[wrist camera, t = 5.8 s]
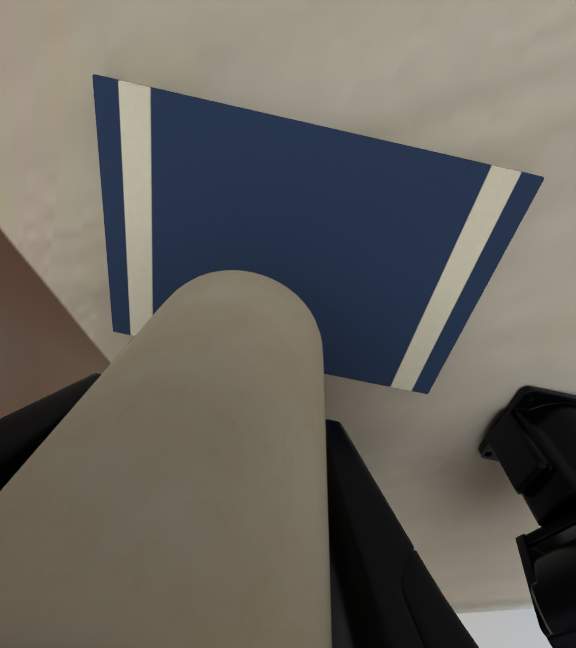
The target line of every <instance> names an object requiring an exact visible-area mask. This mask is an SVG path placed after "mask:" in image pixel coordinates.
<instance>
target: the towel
mask: <svg viewBox="0 0 576 648" xmlns="http://www.w3.org/2000/svg"><path fill="white" fill-rule="evenodd" d="M93 88H94V100H95V113H96V125H97V137H98V150H99V162H100V175H101V187H102V200H103V212H104V225H105V237H106V250H107V262H108V275H109V287H110V299H111V312H112V324H113V331H114V332H119V333H124V334H129V335H132V336H135V335H136V334H137V333H138V332H139V331H140V330H141V328H142V327H143V326H144V325H145V324H146V323H147V322H148V320H149V319H150V318H151V317H152V316H153V315H154V313H155V312H156V311H157V310H158V309H159V308H160V307H161V306H162V305H163V304H164V302H165V301H166V300H167V299H168V298H169V297H170V296H171V295H172V294H173V293H174V292H175V291H176V290H177V289H179V288H180V287H182V286H183V285H184V284H186V283H188V282H189V281H191V280H193V279H195V278H197V277H199V276H202V275H205V274H208V273H211V272H217V271H225V270H239V271H247V272H253V273H257V274H260V275H263V276H266V277H269V278H271V279H273V280H275V281H277V282H279V283H281V284H282V285H284V286H286V287H287V288H289V289H290V290H291V291H292V292H294V293H295V294H296V295H297V296H298V297H299V298H300V299H301V300H302V301H303V302H304V303H305V305H306V306H307V307H308V309H309V310H310V311H311V313H312V315H313V317H314V319H315V321H316V324H317V326H318V329H319V332H320V335H321V340H322V348H323V364H324V374H329V375H334V376H339V377H344V378H349V379H354V380H359V381H364V382H369V383H374V384H379V385H384V386H390V387H392V388H397V389H402V390H407V391H415V392H420V393H425V394H428V393H429V391H430V389H431V387H432V385H433V383H434V382H435V380H436V378H437V376H438V374H439V372H440V371H441V369H442V367H443V365H444V363H445V361H446V359H447V358H448V356H449V354H450V352H451V350H452V348H453V346H454V345H455V343H456V341H457V339H458V337H459V335H460V334H461V332H462V330H463V328H464V326H465V324H466V322H467V321H468V319H469V317H470V315H471V313H472V311H473V309H474V308H475V306H476V304H477V302H478V300H479V298H480V297H481V295H482V293H483V291H484V289H485V287H486V285H487V284H488V282H489V280H490V278H491V276H492V274H493V272H494V271H495V269H496V267H497V265H498V263H499V261H500V260H501V258H502V256H503V254H504V252H505V250H506V248H507V247H508V245H509V243H510V241H511V239H512V237H513V235H514V234H515V232H516V230H517V228H518V226H519V224H520V222H521V221H522V219H523V217H524V215H525V213H526V211H527V210H528V208H529V206H530V204H531V202H532V200H533V198H534V197H535V195H536V193H537V191H538V189H539V187H540V185H541V184H542V182H543V180H544V177H542V176H537V175H533V174H529V173H524V172H520V171H516V170H511V169H507V168H502V167H498V166H494V165H489V164H485V163H480V162H476V161H472V160H467V159H463V158H459V157H454V156H450V155H445V154H441V153H437V152H432V151H428V150H424V149H419V148H415V147H410V146H406V145H402V144H397V143H393V142H389V141H384V140H380V139H375V138H371V137H367V136H362V135H358V134H353V133H349V132H345V131H340V130H336V129H332V128H327V127H323V126H318V125H314V124H310V123H305V122H301V121H297V120H292V119H288V118H283V117H279V116H275V115H270V114H266V113H262V112H257V111H253V110H248V109H244V108H240V107H235V106H231V105H226V104H222V103H218V102H213V101H209V100H205V99H200V98H196V97H191V96H187V95H183V94H178V93H174V92H170V91H165V90H161V89H156V88H152V87H148V86H143V85H139V84H135V83H130V82H126V81H121V80H117V79H113V78H108V77H104V76H99V75H95V74H94V75H93Z"/></svg>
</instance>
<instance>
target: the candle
mask: <svg viewBox="0 0 576 648" xmlns="http://www.w3.org/2000/svg"><path fill="white" fill-rule="evenodd" d="M0 648H332V626H331V593H330V560H329V527H328V494H327V461H326V428H325V395H324V364H323V348H322V340H321V335H320V332H319V329H318V326H317V324H316V321H315V319H314V317H313V315H312V313H311V311H310V310H309V309H308V307H307V306H306V305H305V303H304V302H303V301H302V300H301V299H300V298H299V297H298V296H297V295H296V294H295V293H294V292H292V291H291V290H290V289H289V288H287V287H286V286H284V285H282V284H281V283H279V282H277V281H275V280H273V279H271V278H269V277H266V276H263V275H260V274H257V273H253V272H247V271H239V270H225V271H217V272H211V273H208V274H205V275H202V276H199V277H197V278H195V279H193V280H191V281H189V282H188V283H186V284H184V285H183V286H182V287H180V288H179V289H177V290H176V291H175V292H174V293H173V294H172V295H171V296H170V297H169V298H168V299H167V300H166V301H165V302H164V304H163V305H162V306H161V307H160V308H159V309H158V310H157V311H156V312H155V313H154V315H153V316H152V317H151V318H150V319H149V320H148V322H147V323H146V324H145V325H144V326H143V327H142V328H141V330H140V331H139V332H138V333H137V334H136V335H135V337H134V338H133V339H132V340H131V341H130V342H129V343H128V345H127V346H126V347H125V348H124V349H123V350H122V352H121V353H120V354H119V355H118V356H117V357H116V358H115V360H114V361H113V362H112V363H111V364H110V365H109V366H108V368H107V369H106V370H105V371H104V372H103V373H102V375H101V376H100V377H99V378H98V379H97V380H96V381H95V383H94V384H93V385H92V386H91V387H90V388H89V390H88V391H87V392H86V393H85V394H84V395H83V396H82V398H81V399H80V400H79V401H78V402H77V403H76V405H75V406H74V407H73V408H72V409H71V410H70V411H69V413H68V414H67V415H66V416H65V417H64V418H63V419H62V421H61V422H60V423H59V424H58V425H57V426H56V428H55V429H54V430H53V431H52V432H51V433H50V434H49V436H48V437H47V438H46V439H45V440H44V441H43V443H42V444H41V445H40V446H39V447H38V448H37V449H36V451H35V452H34V453H33V454H32V455H31V456H30V458H29V459H28V460H27V461H26V462H25V463H24V464H23V466H22V467H21V468H20V469H19V470H18V471H17V472H16V474H15V475H14V476H13V477H12V478H11V479H10V481H9V482H8V483H7V484H6V485H5V486H4V487H3V489H2V490H1V491H0Z"/></svg>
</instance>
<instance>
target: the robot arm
mask: <svg viewBox="0 0 576 648" xmlns="http://www.w3.org/2000/svg"><path fill="white" fill-rule="evenodd" d="M101 375H102V374H97V373H95V374H92V375H90V376H88V377H86V378H84V379H82V380H80V381H77V382H75V383H73V384H71V385H69V386H67V387H65V388H63V389H61V390H59V391H57V392H55V393H53V394H51V395H48V396H46V397H45V398H42V399H40V400H38V401H36V402H34V403H32V404H30V405H28V406H26V407H24V408H22V409H20V410H18V411H15V412H13V413H11V414H9V415H7V416H5V417H3V418H1V419H0V491H1V490H2V489H3V487H4V486H5V485H6V484H7V483H8V482H9V481H10V479H11V478H12V477H13V476H14V475H15V474H16V472H17V471H18V470H19V469H20V468H21V467H22V466H23V464H24V463H25V462H26V461H27V460H28V459H29V458H30V456H31V455H32V454H33V453H34V452H35V451H36V449H37V448H38V447H39V446H40V445H41V444H42V443H43V441H44V440H45V439H46V438H47V437H48V436H49V434H50V433H51V432H52V431H53V430H54V429H55V428H56V426H57V425H58V424H59V423H60V422H61V421H62V419H63V418H64V417H65V416H66V415H67V414H68V413H69V411H70V410H71V409H72V408H73V407H74V406H75V405H76V403H77V402H78V401H79V400H80V399H81V398H82V396H83V395H84V394H85V393H86V392H87V391H88V390H89V388H90V387H91V386H92V385H93V384H94V383H95V381H96V380H97V379H98V378H99V377H100V376H101ZM325 428H326V461H327V494H328V527H329V560H330V593H331V626H332V648H479V647H478V646H477V644H476V643H475V642H474V640H473V638H472V637H471V635H470V634H469V633H468V631H467V630H466V628H465V627H464V625H463V624H462V622H461V621H460V619H459V618H458V616H457V615H456V613H455V612H454V610H453V609H452V607H451V606H450V605H449V603H448V602H447V600H446V599H445V597H444V596H443V594H442V592H441V591H440V589H439V588H438V586H437V584H436V583H435V581H434V579H433V578H432V576H431V575H430V573H429V571H428V570H427V568H426V566H425V565H424V563H423V561H422V560H421V558H420V556H419V555H418V553H417V551H416V550H413V549H414V546H413V545H412V543H411V541H410V540H409V538H408V536H407V535H406V533H405V531H404V529H403V528H402V526H401V524H400V523H399V521H398V519H397V518H396V516H395V514H394V513H393V511H392V509H391V507H390V506H389V504H388V502H387V501H386V499H385V497H384V496H383V494H382V492H381V490H380V489H379V487H378V485H377V484H376V482H375V480H374V479H373V477H372V475H371V474H370V472H369V470H368V468H367V467H366V465H365V463H364V462H363V460H362V458H361V457H360V455H359V453H358V452H357V450H356V448H355V446H354V445H353V443H352V441H351V440H350V438H349V436H348V435H347V433H346V431H345V430H344V428H343V426H342V424H341V423H340V422H337V421H333V420H325ZM479 453H480V455H481V457H482V458H485V459H490V460H495V461H499V462H500V463H501V465H502V467H503V469H504V471H505V473H506V474H507V476H508V478H509V480H510V482H511V483H512V485H513V487H514V489H515V491H516V492H517V493H518V494H520V495H522V496H523V498H524V499H525V501H526V503H527V505H528V507H529V508H530V510H531V512H532V514H533V516H534V517H535V519H536V521H537V523H538V524H539V526H542V527H540V528H538V529H536V530H535V531H533V532H531V533H529V534H527V535H525V534H522V535H520V536H518V537H517V538H516V543H517V546H518V550H519V554H520V557H521V561H522V565H523V569H524V572H525V576H526V580H527V583H528V587H529V591H530V594H531V598H532V602H533V606H534V609H535V612H536V615H537V619H538V622H539V626H540V628H541V630H542V632H543V633H544V635H545V636H546V637H547V639H548V641H549V643H550V644H551V646H552V647H553V648H576V396H575V395H570V394H565V393H560V392H555V391H550V390H545V389H540V388H535V387H525V388H523V389H522V390H521V391H520V392H519V394H518V395H517V396H516V398H515V399H514V401H513V402H512V403H511V405H510V406H509V407H508V409H507V410H506V412H505V413H504V414H503V416H502V417H501V419H500V420H499V421H498V423H497V424H496V425H495V427H494V428H493V430H492V431H491V432H490V434H489V435H488V437H487V438H486V439H485V441H484V442H483V443H482V445H481V446H480V448H479Z"/></svg>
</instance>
